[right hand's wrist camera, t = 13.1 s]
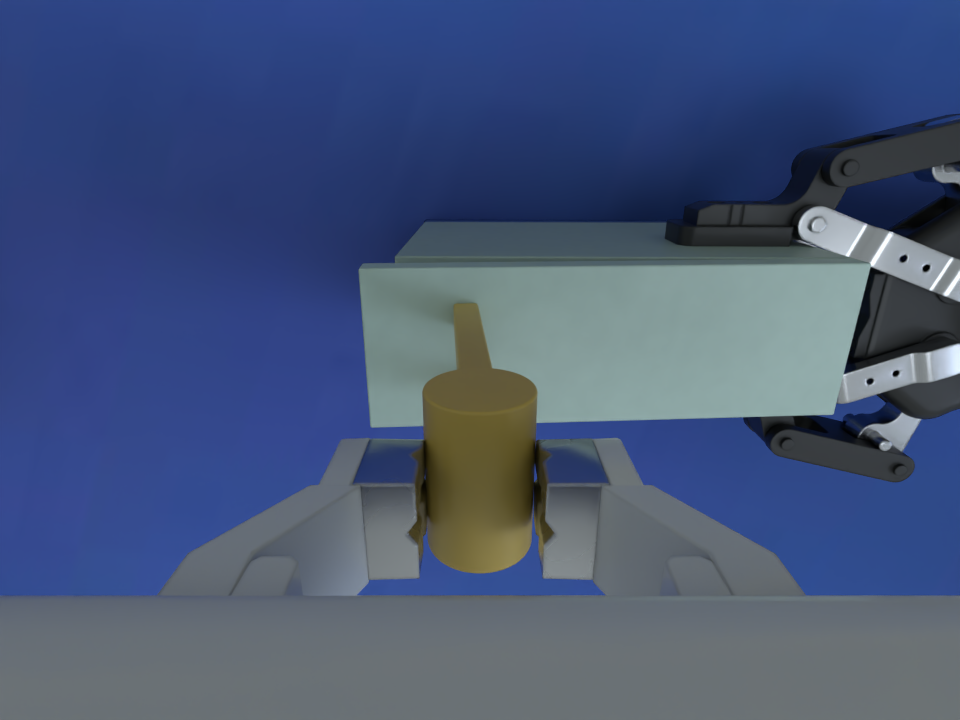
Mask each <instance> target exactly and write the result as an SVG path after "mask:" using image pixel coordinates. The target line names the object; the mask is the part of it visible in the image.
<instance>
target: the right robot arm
mask: <svg viewBox="0 0 960 720" xmlns="http://www.w3.org/2000/svg"><path fill="white" fill-rule="evenodd" d="M535 466H536V473H537V480H536V481H535V482H534V522H535V530H536V535H538V536H539V558H540V564H541V570H542V576H543V578H550V579H587V580H593V582H594V583H595V584H596V585H597V586H598V587H599V588H600V590H601V591H602V592H603V593H604V594H605V595H606V596H356V595H357V594H358V593H359V592H360V591H361V590H362V589H363V588H364V587H365V586H366V585H367V584H368V583H369V580H375V579H410V578H419V576H420V570H421V563H422V557H423V536H424V535H425V534H426V528H427V517H428V510H427V488H426V480H425V479H424V477H425V471H426V459H425V440H412V439H370V438H355V439H342V440H341V441H340V442H339V445H338V447H337V449H336V451H335V453H334V455H333V457H332V459H331V461H330V463H329V465H328V467H327V469H326V471H325V473H324V475H323V477H322V479H321V481H320V483H319V485H310V486H308V487H306V488H304V489H303V490H301V491H299V492H297V493H295V494H294V495H292V496H290V497H288V498H286V499H285V500H283V501H281V502H279V503H277V504H276V505H274V506H272V507H270V508H268V509H267V510H265V511H263V512H261V513H259V514H258V515H256V516H254V517H252V518H251V519H249V520H247V521H245V522H243V523H242V524H240V525H238V526H236V527H234V528H233V529H231V530H229V531H227V532H225V533H224V534H222V535H220V536H218V537H216V538H215V539H213V540H211V541H209V542H207V543H206V544H204V545H202V546H200V547H198V548H197V549H195V550H193V551H191V552H189V553H188V554H187V555H186V557H185V558H184V559H183V561H182V562H181V564H180V565H179V566H178V568H177V569H176V570H175V572H174V573H173V574H172V576H171V577H170V578H169V580H168V581H167V583H166V584H165V585H164V587H163V588H162V589H161V591H160V592H159V593H158V595H157V596H0V720H960V596H927V595H805V593H804V592H803V591H802V589H801V588H800V587H799V585H798V584H797V583H796V581H795V580H794V579H793V577H792V576H791V574H790V573H789V572H788V570H787V569H786V568H785V566H784V565H783V564H782V562H781V561H780V560H779V558H778V557H777V555H776V554H775V553H773V552H771V551H769V550H767V549H766V548H764V547H762V546H760V545H758V544H757V543H755V542H753V541H751V540H749V539H748V538H746V537H744V536H742V535H740V534H739V533H737V532H735V531H733V530H731V529H730V528H728V527H726V526H724V525H722V524H721V523H719V522H717V521H715V520H713V519H712V518H710V517H708V516H706V515H704V514H703V513H701V512H699V511H697V510H695V509H694V508H692V507H690V506H688V505H686V504H685V503H683V502H681V501H679V500H677V499H676V498H674V497H672V496H670V495H668V494H667V493H665V492H663V491H661V490H659V489H658V488H656V487H654V486H652V485H643V483H642V481H641V479H640V477H639V475H638V473H637V471H636V469H635V467H634V465H633V463H632V461H631V459H630V457H629V455H628V453H627V451H626V449H625V447H624V445H623V444H622V442H621V440H620V439H618V438H606V439H552V440H537V441H536V448H535Z"/></svg>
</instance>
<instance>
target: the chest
mask: <svg viewBox="0 0 960 720" xmlns="http://www.w3.org/2000/svg"><path fill="white" fill-rule="evenodd" d="M666 223H667V221H658V220H425V221H424V224H423V225H422V226H421V227H420V228H419V229H418V231H417V232H416V233H415V234H414V235H413V236H412V237H411V239H410V240H409V241H408V242H407V243H406V244H405V246H404V247H403V248H402V249H401V250H400V251H399V253H398V254H397V255H396V256H395V263H450V262H548V261H646V260H744V259H842V258H851V257H848V256H844V255H841V254H837V253H834V252H830V251H827V250H823V249H820V248H817V247H813V246H810V245H806V244H803V243H799V242H796V241H791V242H790V247H738V246H682V245H677V244H675V243H673V242H671V241H668V240H666V239H665V231H666Z"/></svg>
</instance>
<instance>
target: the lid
mask: <svg viewBox="0 0 960 720" xmlns="http://www.w3.org/2000/svg"><path fill="white" fill-rule="evenodd" d="M870 267H871V263H869V262H865V261H861V260H857V259H853V258H842V259H744V260H646V261H548V262H450V263H364V264H362V265H361V267H360V268H359V283H360V296H361V309H362V322H363V335H364V348H365V361H366V375H367V388H368V401H369V414H370V426H371V427H405V426H423V427H424V440H425V459H426V471H425V479H426V488H427V510H428V517H427V531H428V544H429V547H430V549H431V551H432V552H433V554H434V555H435V557H436V558H437V559H438V560H440V561H441V562H442V563H444V564H445V565H447V566H449V567H451V568H454V569H456V570H460V571H464V572H469V573H491V572H496V571H500V570H503V569H506V568H508V567H510V566H512V565H514V564H516V563H517V562H518V561H520V560H521V559H522V558H523V557H524V556H525V554H526V553H527V551H528V550H529V548H530V545H531V538H532V515H533V491H534V468H535V444H536V423H549V422H585V421H621V420H657V419H693V418H729V417H765V416H801V415H832V414H834V410H835V406H836V402H837V398H838V394H839V390H840V386H841V382H842V378H843V374H844V370H845V366H846V362H847V358H848V354H849V351H850V347H851V343H852V339H853V335H854V331H855V327H856V323H857V319H858V315H859V311H860V307H861V303H862V299H863V295H864V291H865V287H866V283H867V279H868V275H869V271H870Z"/></svg>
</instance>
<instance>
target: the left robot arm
mask: <svg viewBox="0 0 960 720" xmlns="http://www.w3.org/2000/svg"><path fill="white" fill-rule="evenodd" d="M911 172H913V173H914V175H915V177H916V178H917V179H918V180H920V181H923V182H935V183H940V184H941V185H942V186H943V187H944V189H945V195H944V196H942V197H940V198H938V199H936V200H935V201H933V202H932V203H930V204H928V205H927V206H925V207H923V208H922V209H920V210H919V211H917V212H915V213H914V214H912V215H910V216H909V217H907V218H906V219H904V220H902V221H901V222H899V223H898V224H896V225H894V226H893V227H891V228H889V229H888V230H884V229H881V228H878V227H874V226H871V225H868V224H866V223H863V222H861V221H859V220H856V219H854V218H851V217H849V216H846V215H844V214H842V213H839V212H837V211H834V210H835V208H836V207H837V205H838V203H839V202H840V200H841V198H842V196H843V195H844V193H845V191H846V189H847V188H848V187H851V186H856V185H860V184H864V183H868V182H872V181H877V180H881V179H885V178H889V177H894V176H898V175H902V174H906V173H911ZM791 173H792V178H791V180H790V182H789V184H788V186H787V187H786V189H785V190H784V191H783V193H781V194H780V195H779V196H778V197H776V198H774V199H772V200H769V201H698V202H695V203H693V204H690V205H687V206H685V209H684V216H683V219H671V220H667V223H666V231H665V239H666V240H668V241H671V242H673V243H675V244H677V245H682V246H738V247H790V242H791V241H796V242H799V243H803V244H806V245H810V246H813V247H817V248H820V249H823V250H827V251H830V252H834V253H837V254H841V255H844V256H848V257H851V258H853V259H857V260H861V261H865V262H869V263H871V267H870V271H869V275H868V279H867V283H866V287H865V291H864V295H863V299H862V303H861V307H860V311H859V315H858V319H857V323H856V327H855V331H854V335H853V339H852V343H851V347H850V351H849V354H848V358H847V362H846V366H845V370H844V374H843V378H842V382H841V386H840V390H839V394H838V398H837V402H836V403H838V404H844V403H850V402H853V401H856V400H860V399H863V398H866V397H870V396H873V395H877V396H879V397H880V398H881V399H882V400H883V401H885V402H886V404H885V405H884V407H883V408H882V409H880V410H879V411H877V412H875V413H872V414H857V415H853V414H847V415H845V416H844V417H843V422H842V421H837V420H833V419H829V418H825V417H820V416H816V415H801V416H765V417H743V419H744V422H745V424H746V425H747V426H748V427H749V428H750V429H751V430H752V431H754V432H755V433H756V434H757V435H758V436H759V437H760V438H761V439H762V440H763V441H764V442H765V443H766V446H767V447H768V448H769V449H770V450H771V451H772V452H773V453H774V454H775V455H777V456H780V457H784V458H789V459H793V460H798V461H802V462H806V463H811V464H815V465H820V466H824V467H828V468H833V469H837V470H841V471H846V472H850V473H855V474H859V475H863V476H868V477H872V478H876V479H881V480H885V481H890V482H900V481H903V480H905V479H907V478H908V477H909V476H910V475H911V474H912V472H913V470H914V467H915V464H914V461H913V460H912V459H911V458H910V457H909V456H907V455H906V454H904V453H903V450H904V448H905V447H906V445H907V443H908V442H909V440H910V438H911V436H912V435H913V433H914V431H915V430H916V428H917V426H918V425H919V423H920V421H921V419H931V418H936V417H939V416H942V415H944V414H946V413H948V412H951V411H954V410H957V409H960V114H952V115H945V116H941V117H937V118H933V119H929V120H925V121H921V122H916V123H912V124H908V125H904V126H900V127H896V128H892V129H888V130H884V131H880V132H875V133H871V134H867V135H863V136H859V137H855V138H851V139H847V140H843V141H839V142H834V143H830V144H826V145H822V146H818V147H814V148H810V149H806V150H804V151H802V152H800V153H799V154H798V155H797V156H796V157H795V159H794V161H793V163H792V167H791Z"/></svg>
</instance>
